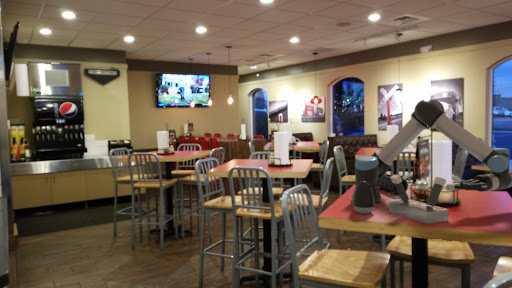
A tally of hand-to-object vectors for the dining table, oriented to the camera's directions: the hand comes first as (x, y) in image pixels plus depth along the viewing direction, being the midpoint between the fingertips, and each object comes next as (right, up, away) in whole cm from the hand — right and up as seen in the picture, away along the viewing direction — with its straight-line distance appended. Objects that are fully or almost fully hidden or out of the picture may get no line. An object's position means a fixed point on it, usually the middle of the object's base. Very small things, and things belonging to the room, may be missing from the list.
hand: (447, 187), depth 172 cm
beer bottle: (+13, -9, +61) cm, 63 cm away
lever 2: (-10, -8, -3) cm, 13 cm away
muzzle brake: (-5, -9, +61) cm, 62 cm away
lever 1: (-15, -8, +10) cm, 19 cm away
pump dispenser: (-34, -13, +12) cm, 38 cm away
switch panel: (-12, -13, +4) cm, 18 cm away
